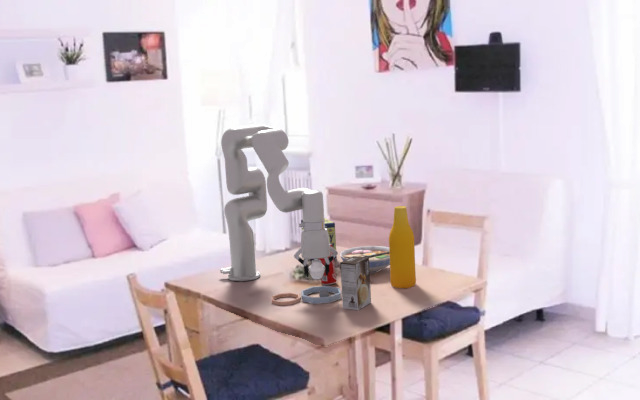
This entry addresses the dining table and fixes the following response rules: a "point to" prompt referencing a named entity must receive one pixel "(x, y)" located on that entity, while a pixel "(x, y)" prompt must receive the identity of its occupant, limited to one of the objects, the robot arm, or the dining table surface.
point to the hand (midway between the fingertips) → (317, 274)
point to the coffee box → (355, 282)
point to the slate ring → (321, 299)
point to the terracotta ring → (285, 296)
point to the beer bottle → (402, 251)
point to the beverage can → (332, 275)
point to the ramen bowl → (370, 256)
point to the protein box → (329, 233)
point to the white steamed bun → (316, 269)
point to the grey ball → (324, 293)
